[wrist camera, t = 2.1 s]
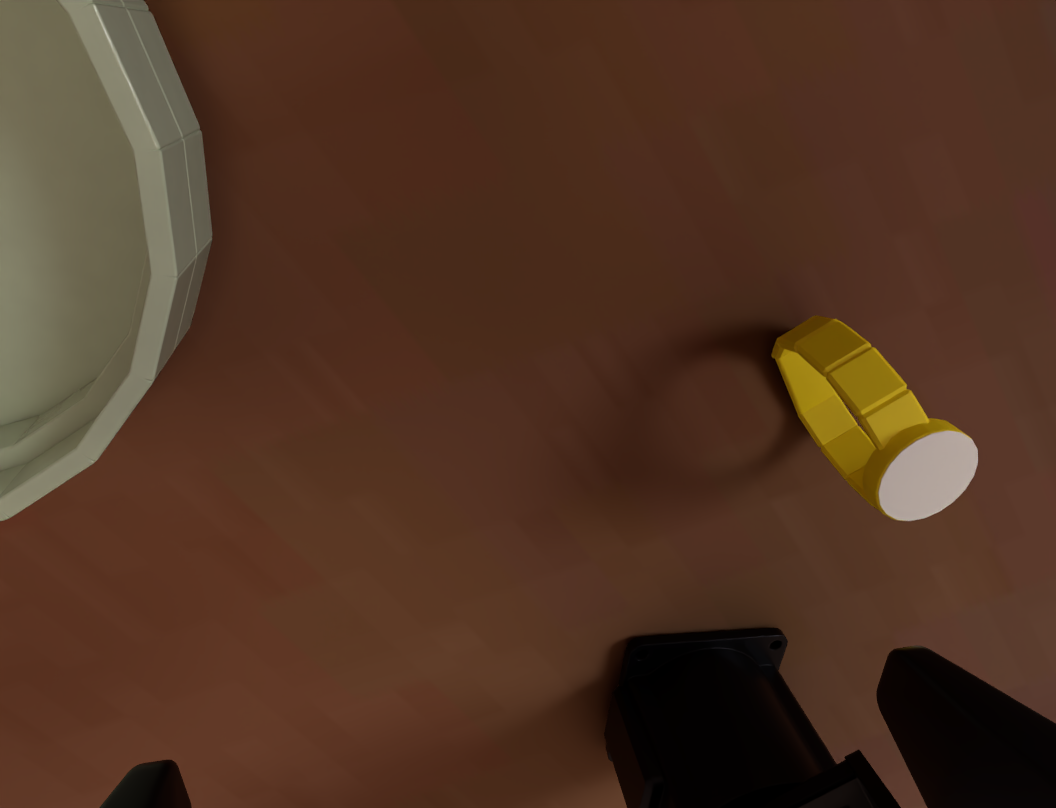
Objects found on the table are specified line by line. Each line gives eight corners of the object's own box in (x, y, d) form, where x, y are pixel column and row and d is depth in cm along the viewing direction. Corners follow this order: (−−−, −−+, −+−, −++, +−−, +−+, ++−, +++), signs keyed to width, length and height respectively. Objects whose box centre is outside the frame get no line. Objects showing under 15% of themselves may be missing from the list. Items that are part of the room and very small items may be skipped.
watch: (731, 326, 22) (843, 417, 16) (812, 276, 21) (951, 353, 16) (795, 461, 24) (907, 575, 19) (866, 419, 24) (1000, 523, 19)
